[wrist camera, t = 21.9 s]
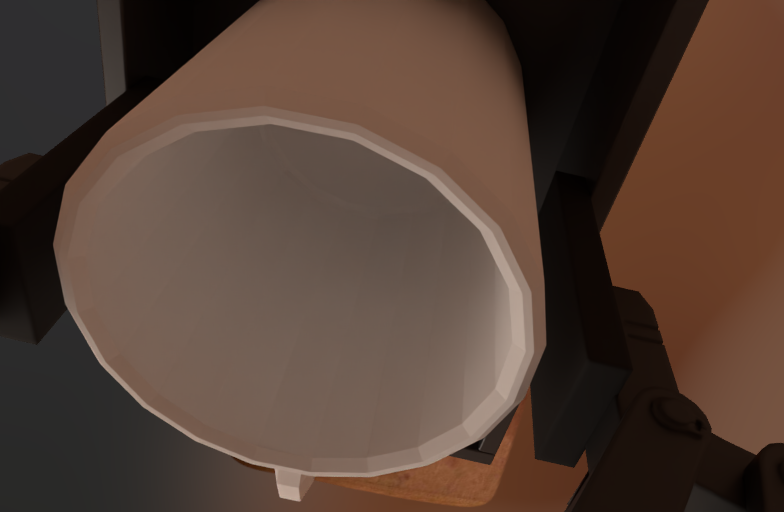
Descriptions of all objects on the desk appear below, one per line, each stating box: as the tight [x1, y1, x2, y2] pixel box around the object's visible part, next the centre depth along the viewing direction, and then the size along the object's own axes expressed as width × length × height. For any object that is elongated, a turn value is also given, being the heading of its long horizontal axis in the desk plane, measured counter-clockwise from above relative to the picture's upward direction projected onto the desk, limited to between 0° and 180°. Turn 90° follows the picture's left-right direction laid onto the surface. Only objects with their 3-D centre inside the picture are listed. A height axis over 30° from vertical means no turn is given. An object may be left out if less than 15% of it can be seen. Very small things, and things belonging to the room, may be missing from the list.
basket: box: [97, 0, 709, 465], centre depth 18 cm, size 16×12×5 cm
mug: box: [53, 0, 546, 501], centre depth 15 cm, size 8×12×10 cm
